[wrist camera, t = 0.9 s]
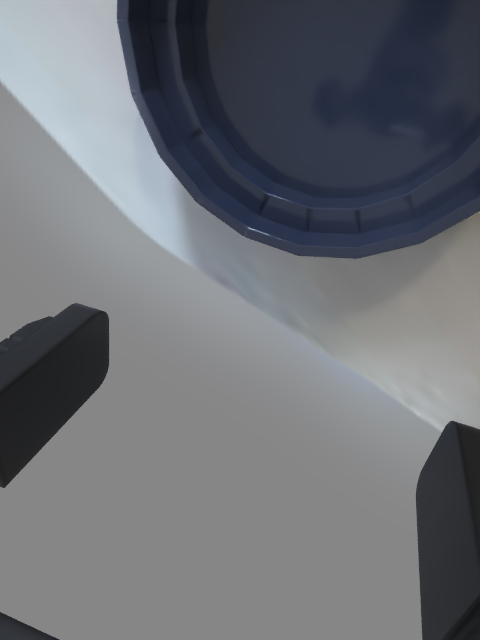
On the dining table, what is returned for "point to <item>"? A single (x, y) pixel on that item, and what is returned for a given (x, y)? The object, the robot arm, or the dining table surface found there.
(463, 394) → the dining table surface
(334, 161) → the bowl
